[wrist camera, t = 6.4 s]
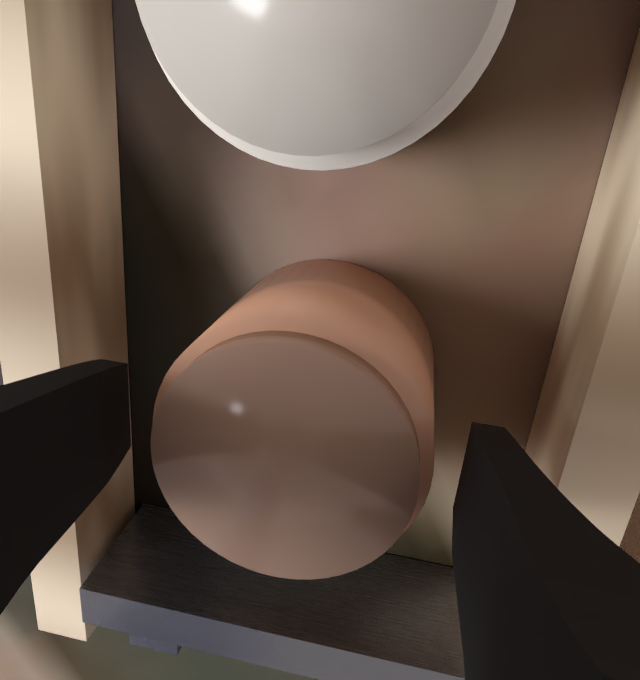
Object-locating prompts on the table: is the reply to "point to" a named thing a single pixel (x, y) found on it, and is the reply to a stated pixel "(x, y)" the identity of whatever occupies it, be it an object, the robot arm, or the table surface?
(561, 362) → the beige flat open box
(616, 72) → the table surface
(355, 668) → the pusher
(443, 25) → the cream jar
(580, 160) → the table surface
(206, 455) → the terracotta jar
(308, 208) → the table surface
